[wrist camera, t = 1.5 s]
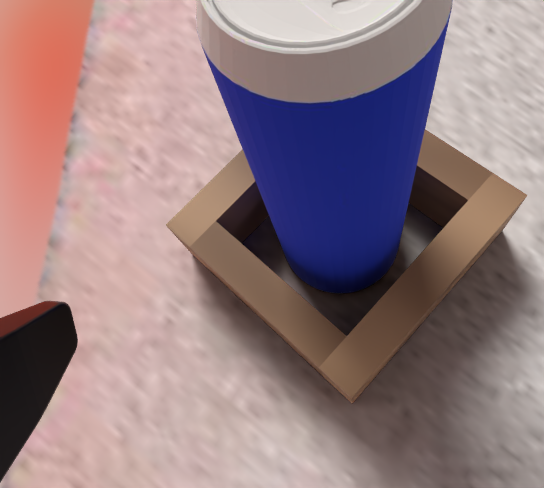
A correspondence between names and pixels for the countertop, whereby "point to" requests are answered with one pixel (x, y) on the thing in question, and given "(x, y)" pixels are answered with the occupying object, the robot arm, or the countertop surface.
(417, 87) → the beverage can
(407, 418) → the countertop surface
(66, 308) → the robot arm
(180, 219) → the wooden tray
